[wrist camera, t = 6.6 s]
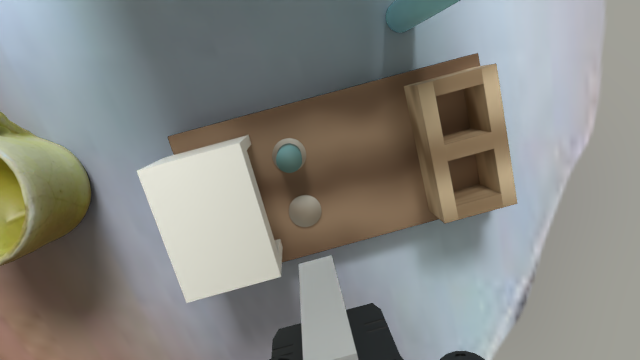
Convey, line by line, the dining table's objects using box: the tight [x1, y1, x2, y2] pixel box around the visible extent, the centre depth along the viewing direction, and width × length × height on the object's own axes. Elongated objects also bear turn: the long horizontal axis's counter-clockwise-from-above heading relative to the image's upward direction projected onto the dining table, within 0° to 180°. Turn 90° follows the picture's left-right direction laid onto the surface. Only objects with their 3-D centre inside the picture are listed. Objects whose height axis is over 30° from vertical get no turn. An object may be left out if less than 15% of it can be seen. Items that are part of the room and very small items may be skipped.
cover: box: [137, 135, 283, 303], centre depth 29 cm, size 10×7×6 cm
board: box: [168, 53, 517, 262], centre depth 32 cm, size 13×26×6 cm, turn 105°
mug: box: [0, 112, 91, 266], centre depth 29 cm, size 12×10×10 cm
